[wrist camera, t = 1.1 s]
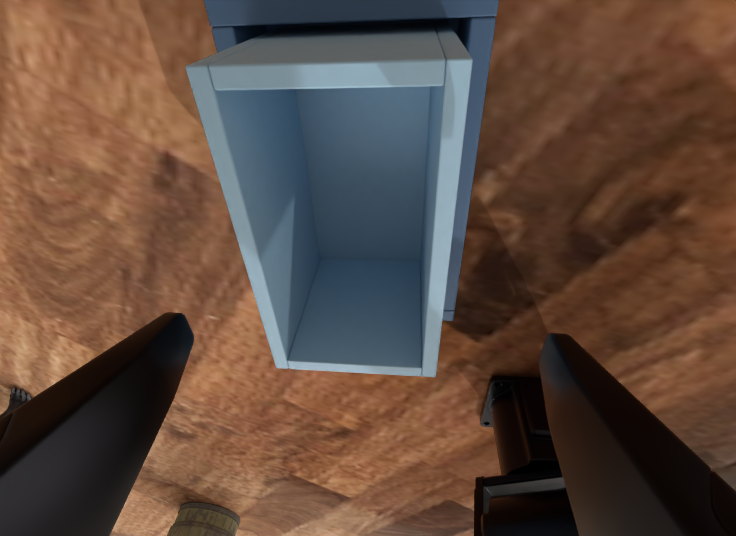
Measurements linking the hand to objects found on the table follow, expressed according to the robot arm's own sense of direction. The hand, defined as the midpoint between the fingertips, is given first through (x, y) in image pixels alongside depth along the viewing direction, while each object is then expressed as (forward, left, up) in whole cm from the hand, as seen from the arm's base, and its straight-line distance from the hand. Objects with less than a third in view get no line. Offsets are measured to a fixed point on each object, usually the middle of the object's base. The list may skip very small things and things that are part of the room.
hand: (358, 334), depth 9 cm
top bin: (-1, +1, -12) cm, 12 cm away
